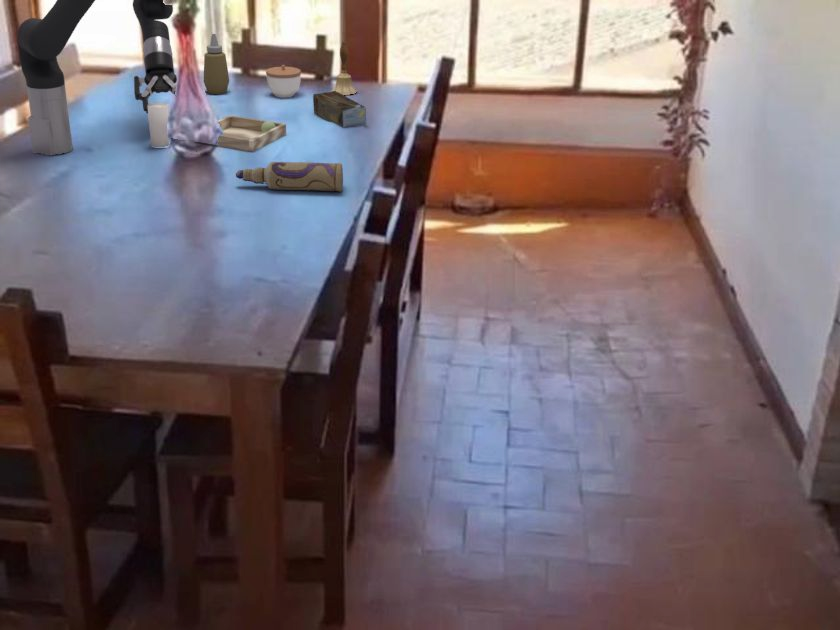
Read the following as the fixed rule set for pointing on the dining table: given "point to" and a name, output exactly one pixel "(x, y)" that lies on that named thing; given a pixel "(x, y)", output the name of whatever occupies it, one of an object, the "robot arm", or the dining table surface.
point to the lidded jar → (283, 81)
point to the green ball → (267, 126)
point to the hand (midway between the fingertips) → (164, 110)
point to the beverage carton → (339, 109)
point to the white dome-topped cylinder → (158, 123)
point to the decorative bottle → (297, 176)
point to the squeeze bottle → (215, 68)
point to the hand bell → (344, 75)
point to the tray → (247, 133)
